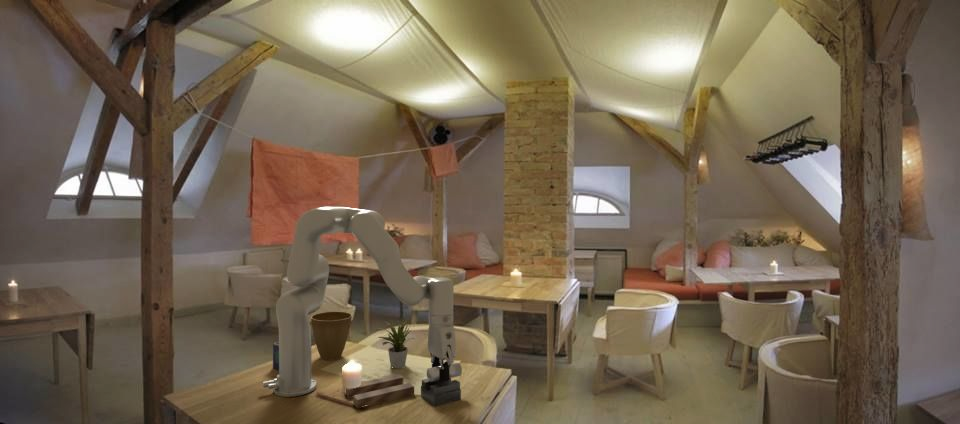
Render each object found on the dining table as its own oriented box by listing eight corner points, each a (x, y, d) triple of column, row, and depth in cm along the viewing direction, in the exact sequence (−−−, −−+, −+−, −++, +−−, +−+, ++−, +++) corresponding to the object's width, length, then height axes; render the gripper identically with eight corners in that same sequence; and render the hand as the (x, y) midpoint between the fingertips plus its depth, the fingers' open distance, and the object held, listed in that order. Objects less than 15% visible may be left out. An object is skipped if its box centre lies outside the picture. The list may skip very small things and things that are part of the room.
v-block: (434, 406, 135) (434, 389, 134) (420, 395, 142) (420, 379, 142) (460, 399, 140) (460, 382, 139) (446, 389, 147) (446, 373, 147)
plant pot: (329, 366, 166) (329, 322, 165) (302, 359, 173) (302, 317, 173) (360, 355, 179) (360, 314, 178) (333, 348, 186) (333, 309, 186)
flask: (296, 370, 162) (296, 340, 162) (290, 373, 160) (290, 342, 159) (276, 366, 166) (276, 337, 166) (270, 369, 163) (269, 339, 163)
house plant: (386, 357, 176) (386, 314, 176) (421, 359, 174) (421, 316, 174) (372, 370, 162) (372, 324, 162) (410, 373, 160) (410, 326, 160)
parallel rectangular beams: (357, 408, 133) (357, 399, 133) (344, 394, 143) (344, 385, 143) (414, 394, 143) (414, 386, 142) (398, 381, 153) (398, 374, 152)
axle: (433, 379, 136) (430, 366, 138) (428, 383, 139) (425, 370, 141) (462, 373, 141) (459, 360, 143) (457, 377, 144) (454, 364, 146)
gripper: (465, 323, 135) (465, 385, 136) (438, 311, 149) (438, 367, 150) (443, 327, 131) (442, 390, 132) (417, 314, 145) (417, 372, 146)
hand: (440, 377), depth 141 cm, fingers closed on axle, 4 cm apart
